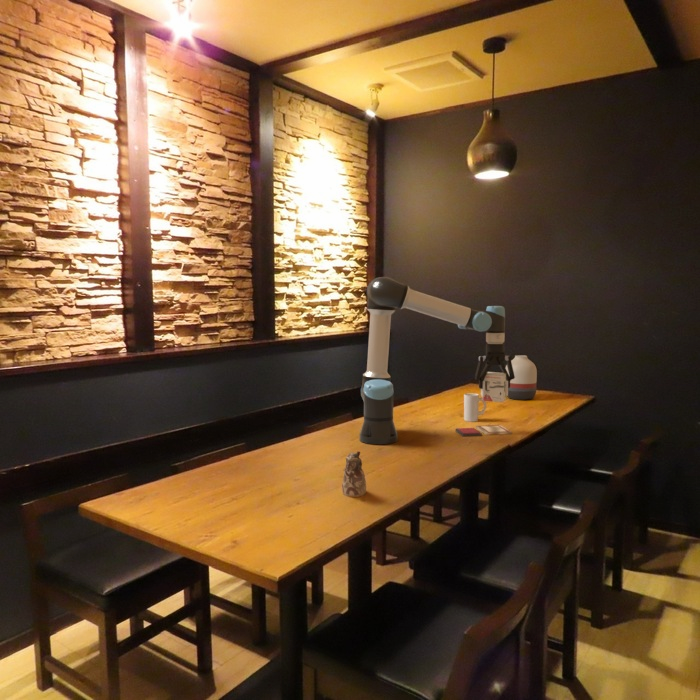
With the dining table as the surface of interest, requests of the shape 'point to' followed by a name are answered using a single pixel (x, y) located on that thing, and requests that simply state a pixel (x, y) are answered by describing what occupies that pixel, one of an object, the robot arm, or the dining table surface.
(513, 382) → the vase
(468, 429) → the ink pad
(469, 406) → the mug
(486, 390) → the ink box
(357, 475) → the figurine
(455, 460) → the dining table surface
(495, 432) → the board
